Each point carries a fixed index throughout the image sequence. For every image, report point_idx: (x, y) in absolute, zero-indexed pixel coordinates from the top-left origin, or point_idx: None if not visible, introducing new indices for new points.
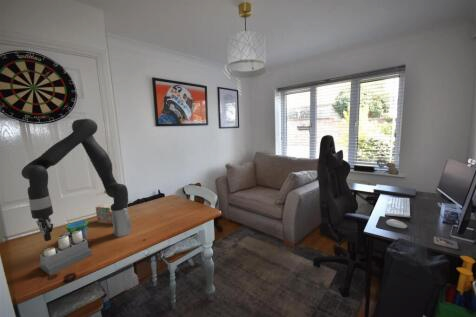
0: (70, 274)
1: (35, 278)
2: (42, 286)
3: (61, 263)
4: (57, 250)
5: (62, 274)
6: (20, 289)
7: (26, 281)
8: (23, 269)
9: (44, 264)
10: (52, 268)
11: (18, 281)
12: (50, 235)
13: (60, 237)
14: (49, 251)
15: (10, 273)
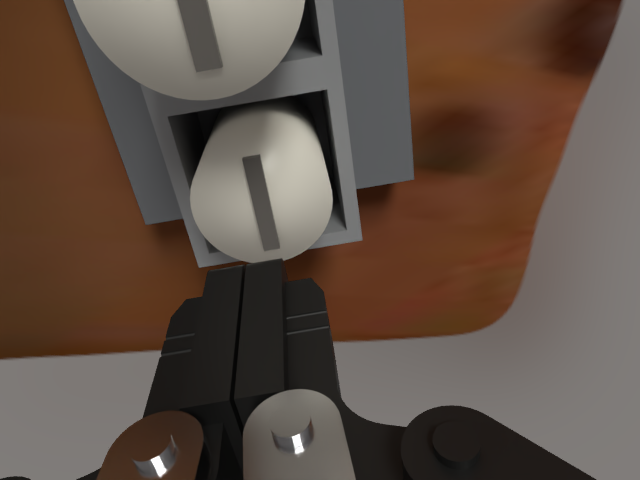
0: (574, 20)
1: None
2: (520, 217)
3: (406, 66)
4: None
5: (495, 75)
6: (408, 315)
7: (328, 285)
8: (83, 290)
9: None
10: (410, 149)
11: None
12: (283, 321)
13: (108, 29)
14: (329, 210)
15: (82, 352)
